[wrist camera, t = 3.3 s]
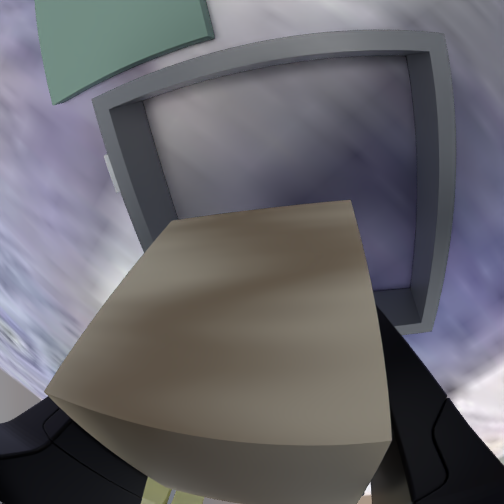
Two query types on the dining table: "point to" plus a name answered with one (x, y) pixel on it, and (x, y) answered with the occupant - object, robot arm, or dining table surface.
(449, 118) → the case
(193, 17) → the mat
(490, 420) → the dining table surface
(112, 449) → the block
